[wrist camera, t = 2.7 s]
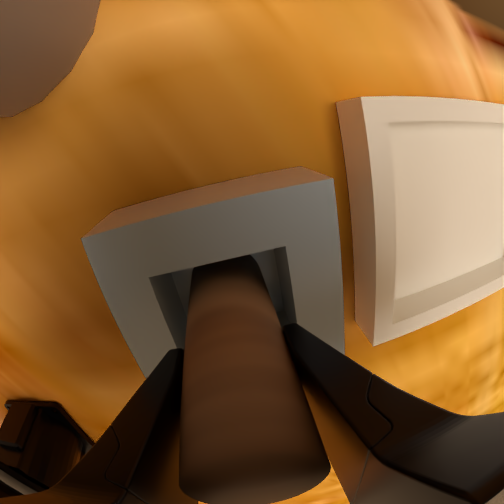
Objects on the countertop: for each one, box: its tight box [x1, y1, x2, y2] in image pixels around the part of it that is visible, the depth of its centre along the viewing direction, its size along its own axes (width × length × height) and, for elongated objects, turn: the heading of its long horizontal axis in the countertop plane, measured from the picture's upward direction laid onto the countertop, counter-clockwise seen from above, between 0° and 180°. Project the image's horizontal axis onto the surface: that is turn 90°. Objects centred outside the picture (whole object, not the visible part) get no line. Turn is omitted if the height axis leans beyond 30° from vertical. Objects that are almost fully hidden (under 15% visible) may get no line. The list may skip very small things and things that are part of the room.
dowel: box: [179, 254, 331, 504], centre depth 9 cm, size 3×3×9 cm
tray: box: [336, 96, 504, 346], centre depth 12 cm, size 11×13×2 cm
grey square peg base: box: [81, 166, 345, 379], centre depth 12 cm, size 8×8×4 cm
